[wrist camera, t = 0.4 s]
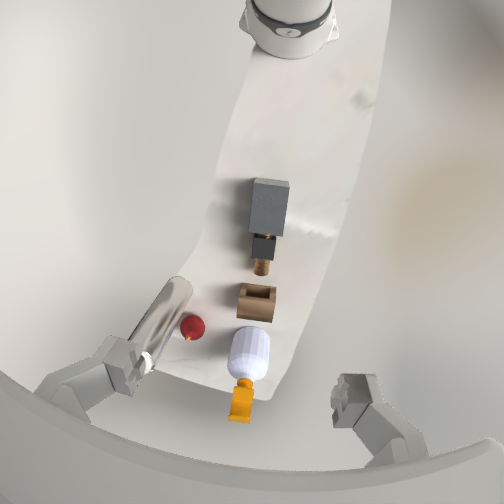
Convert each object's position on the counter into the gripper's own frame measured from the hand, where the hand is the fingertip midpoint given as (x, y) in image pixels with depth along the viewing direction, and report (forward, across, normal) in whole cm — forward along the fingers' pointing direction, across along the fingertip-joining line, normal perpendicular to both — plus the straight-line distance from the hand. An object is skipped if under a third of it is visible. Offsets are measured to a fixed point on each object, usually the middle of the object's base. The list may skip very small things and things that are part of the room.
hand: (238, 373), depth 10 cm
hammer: (+44, 0, +9) cm, 45 cm away
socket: (+45, 0, +24) cm, 51 cm away
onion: (+45, +14, +34) cm, 58 cm away
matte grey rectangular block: (+45, 0, +4) cm, 45 cm away
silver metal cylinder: (+45, +18, +26) cm, 55 cm away
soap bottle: (+45, 0, +38) cm, 59 cm away
